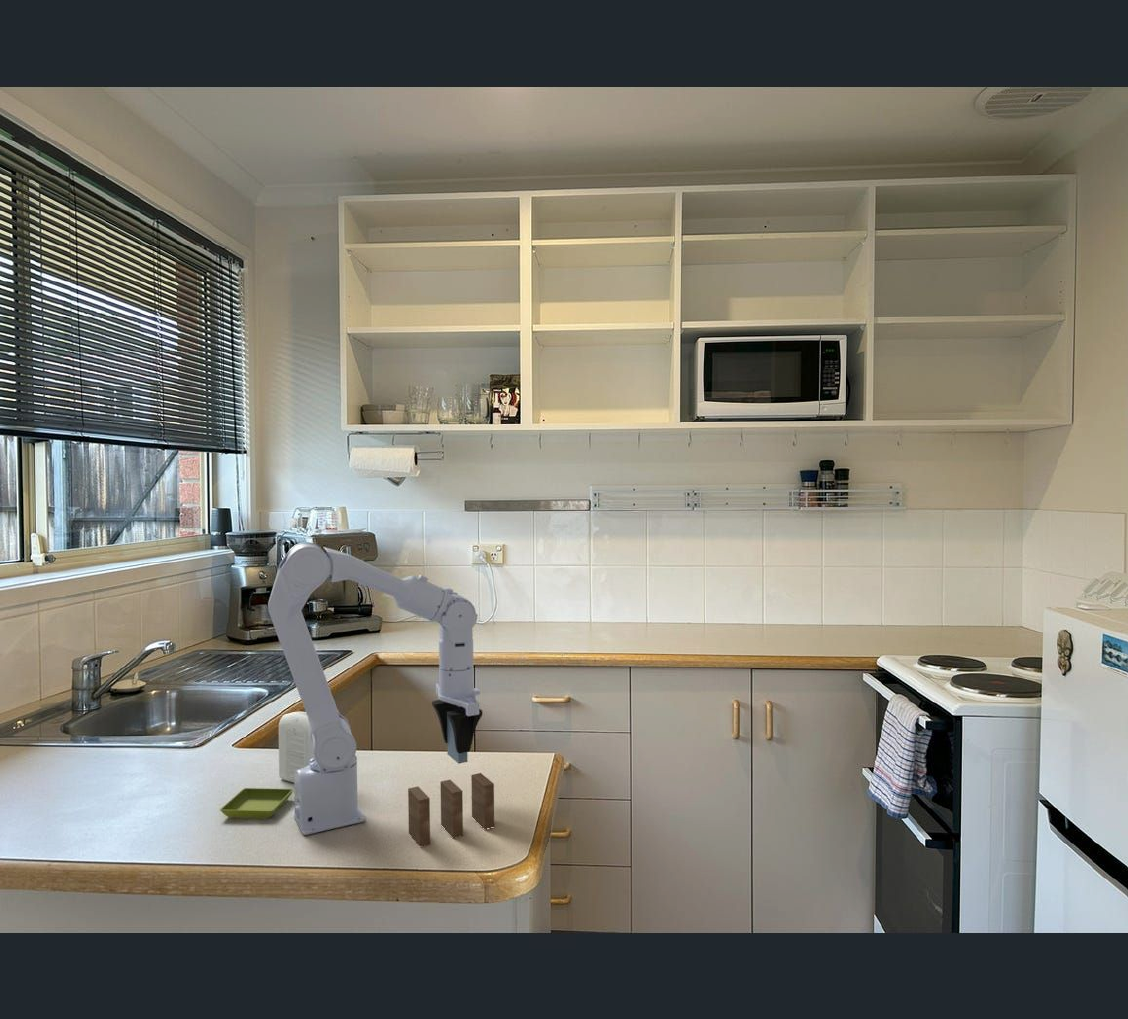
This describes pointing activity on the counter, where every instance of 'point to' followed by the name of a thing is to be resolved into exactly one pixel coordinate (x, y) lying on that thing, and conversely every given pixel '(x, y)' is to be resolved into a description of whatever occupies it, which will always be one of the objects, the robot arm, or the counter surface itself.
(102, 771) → the counter surface
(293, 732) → the white rounded tombstone
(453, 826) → the domino
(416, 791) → the domino
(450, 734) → the end domino
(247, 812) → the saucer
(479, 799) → the domino
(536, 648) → the counter surface
